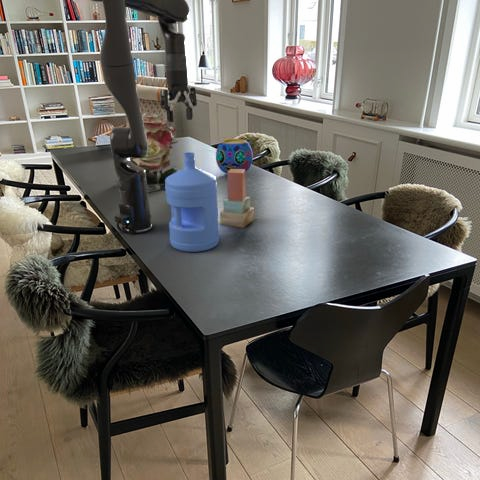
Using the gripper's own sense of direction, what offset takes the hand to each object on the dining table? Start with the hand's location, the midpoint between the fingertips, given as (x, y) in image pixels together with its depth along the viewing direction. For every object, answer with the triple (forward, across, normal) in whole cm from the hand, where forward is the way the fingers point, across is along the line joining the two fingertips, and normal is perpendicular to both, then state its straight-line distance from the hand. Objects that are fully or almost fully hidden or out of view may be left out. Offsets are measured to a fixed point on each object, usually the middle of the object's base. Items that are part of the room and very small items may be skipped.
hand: (180, 121), depth 170 cm
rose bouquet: (+31, +14, +38) cm, 51 cm away
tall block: (+24, +3, -24) cm, 34 cm away
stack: (+32, +3, -24) cm, 40 cm away
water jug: (+33, -21, -28) cm, 48 cm away
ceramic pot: (+31, +52, +23) cm, 64 cm away
